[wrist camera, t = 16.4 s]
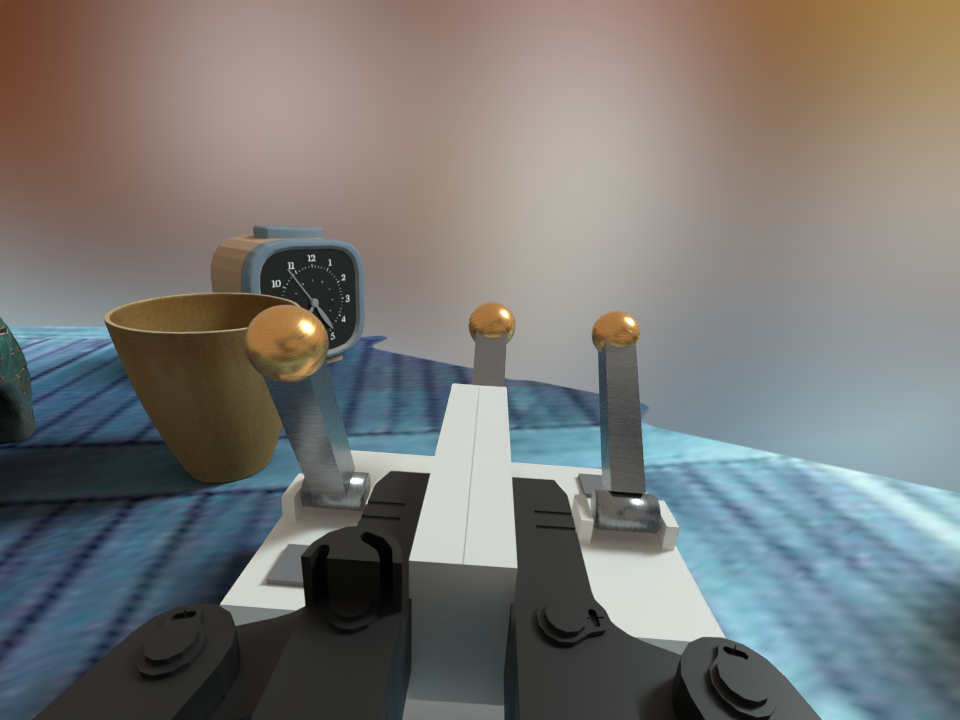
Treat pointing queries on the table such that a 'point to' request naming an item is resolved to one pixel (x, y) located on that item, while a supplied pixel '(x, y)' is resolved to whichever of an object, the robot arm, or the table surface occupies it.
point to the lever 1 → (307, 404)
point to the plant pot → (200, 379)
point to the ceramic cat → (14, 390)
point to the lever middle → (490, 342)
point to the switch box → (607, 554)
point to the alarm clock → (298, 277)
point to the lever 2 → (621, 431)
